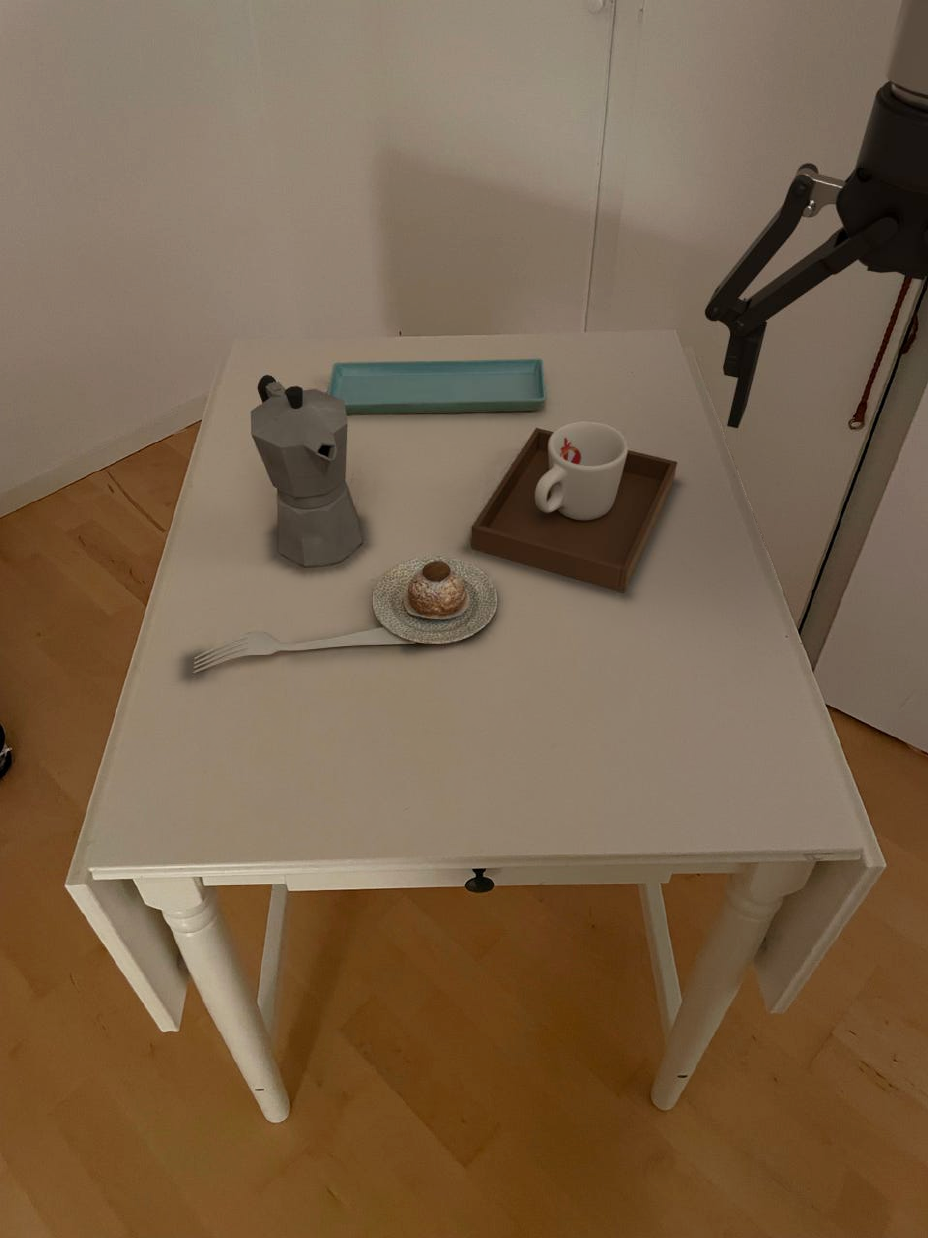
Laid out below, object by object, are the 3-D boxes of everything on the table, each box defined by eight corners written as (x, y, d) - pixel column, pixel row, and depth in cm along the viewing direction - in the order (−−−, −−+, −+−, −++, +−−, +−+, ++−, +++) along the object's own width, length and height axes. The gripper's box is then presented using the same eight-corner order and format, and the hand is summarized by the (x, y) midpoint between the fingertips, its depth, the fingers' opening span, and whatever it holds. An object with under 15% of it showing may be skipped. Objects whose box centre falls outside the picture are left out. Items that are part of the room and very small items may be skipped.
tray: (673, 483, 100) (677, 461, 98) (624, 593, 89) (627, 570, 87) (534, 449, 105) (536, 427, 103) (471, 549, 94) (471, 527, 91)
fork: (421, 662, 86) (423, 643, 84) (193, 677, 83) (189, 657, 81) (417, 640, 88) (418, 621, 86) (194, 654, 85) (190, 634, 83)
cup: (563, 553, 92) (568, 491, 86) (509, 515, 96) (511, 453, 90) (635, 506, 97) (644, 444, 91) (581, 471, 101) (586, 410, 95)
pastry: (484, 661, 83) (486, 625, 80) (357, 640, 85) (353, 604, 81) (506, 574, 91) (509, 538, 88) (390, 556, 93) (388, 521, 90)
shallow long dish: (326, 419, 110) (324, 401, 108) (335, 376, 116) (332, 359, 114) (545, 417, 109) (546, 400, 107) (542, 375, 115) (543, 357, 113)
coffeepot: (390, 557, 93) (375, 407, 80) (306, 593, 90) (275, 443, 76) (323, 478, 102) (299, 331, 89) (244, 508, 99) (207, 360, 85)
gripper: (1238, 94, 44) (1043, 450, 60) (726, 40, 51) (670, 371, 67) (1259, 150, 40) (1041, 520, 55) (693, 83, 47) (641, 427, 62)
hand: (838, 439), depth 61 cm, fingers open, 13 cm apart
